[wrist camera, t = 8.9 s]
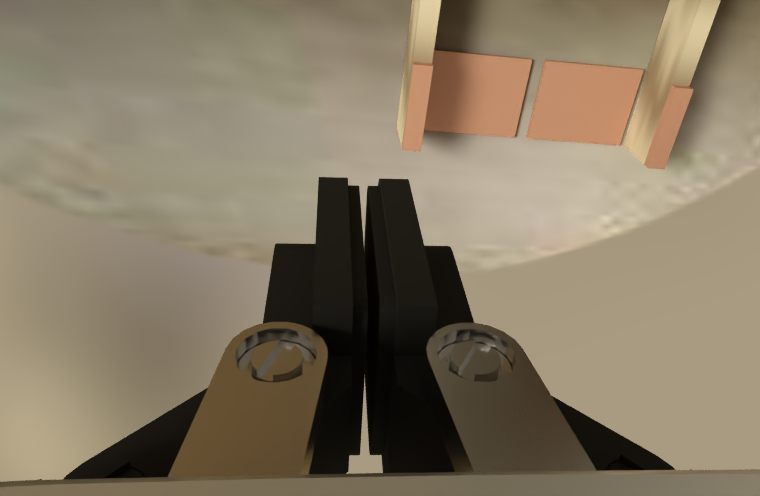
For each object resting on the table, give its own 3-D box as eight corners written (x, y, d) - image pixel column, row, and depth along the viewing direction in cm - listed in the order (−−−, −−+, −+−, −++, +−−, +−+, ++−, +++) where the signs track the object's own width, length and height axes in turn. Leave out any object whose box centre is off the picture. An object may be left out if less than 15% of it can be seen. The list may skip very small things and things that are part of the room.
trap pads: (406, 47, 34) (413, 64, 31) (663, 70, 36) (693, 89, 33) (396, 127, 37) (402, 150, 34) (638, 145, 38) (664, 169, 35)
